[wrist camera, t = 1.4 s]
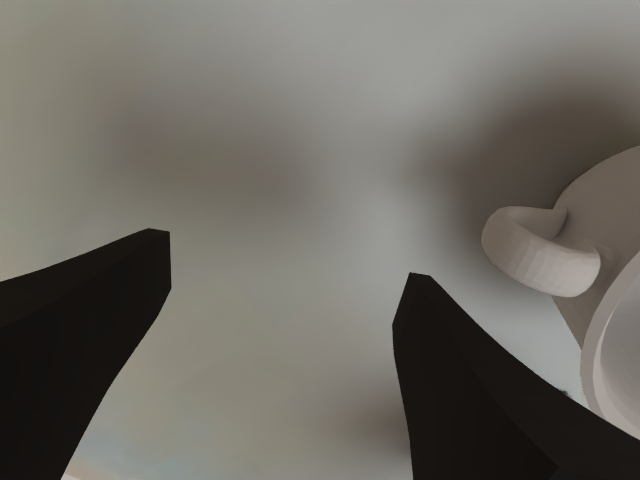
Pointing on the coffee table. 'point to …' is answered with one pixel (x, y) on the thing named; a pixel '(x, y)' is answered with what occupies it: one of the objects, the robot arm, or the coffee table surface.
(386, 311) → the coffee table surface
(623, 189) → the teacup
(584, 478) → the robot arm
